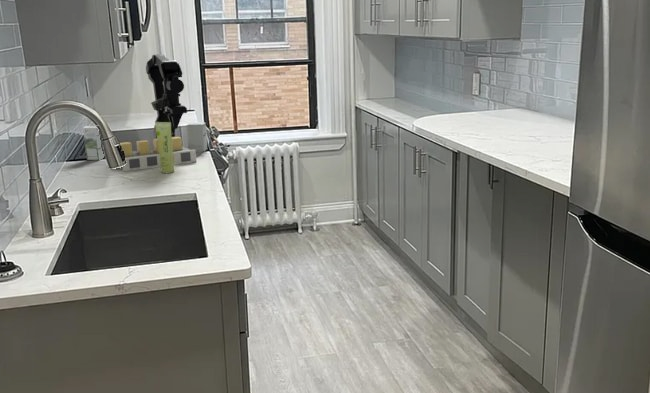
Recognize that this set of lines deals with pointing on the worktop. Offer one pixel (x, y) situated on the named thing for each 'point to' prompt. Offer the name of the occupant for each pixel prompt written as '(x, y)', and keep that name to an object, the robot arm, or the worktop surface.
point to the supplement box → (197, 136)
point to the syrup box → (92, 143)
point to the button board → (152, 153)
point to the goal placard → (158, 160)
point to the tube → (165, 146)
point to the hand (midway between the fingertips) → (174, 128)
